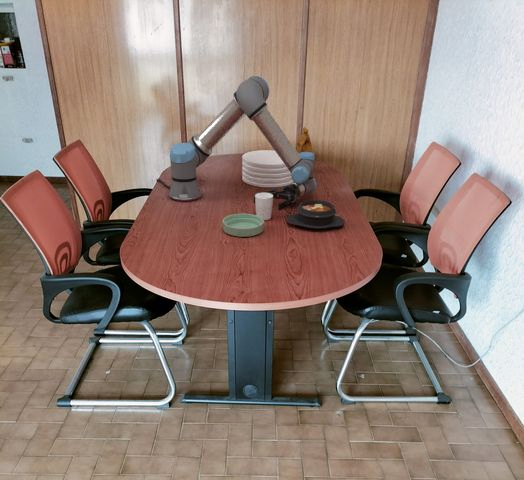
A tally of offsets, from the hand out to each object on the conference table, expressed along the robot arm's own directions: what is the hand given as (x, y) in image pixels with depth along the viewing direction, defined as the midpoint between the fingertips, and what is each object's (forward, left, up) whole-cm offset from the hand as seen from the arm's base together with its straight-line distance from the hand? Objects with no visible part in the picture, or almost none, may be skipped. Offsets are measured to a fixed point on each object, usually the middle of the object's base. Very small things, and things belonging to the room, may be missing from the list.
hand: (266, 203), depth 229 cm
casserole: (+22, +6, -6) cm, 24 cm away
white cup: (0, -2, -6) cm, 6 cm away
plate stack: (-32, +45, -6) cm, 56 cm away
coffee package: (-26, +70, -6) cm, 75 cm away
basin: (+2, -19, -6) cm, 20 cm away
